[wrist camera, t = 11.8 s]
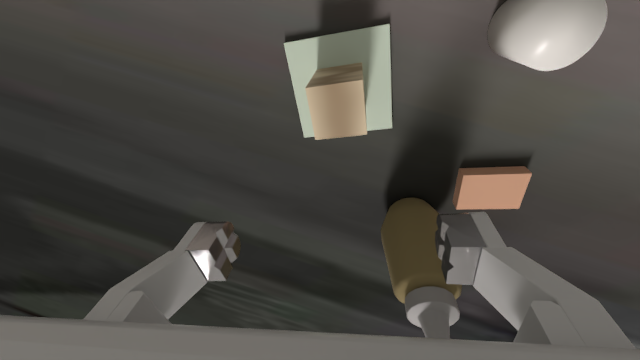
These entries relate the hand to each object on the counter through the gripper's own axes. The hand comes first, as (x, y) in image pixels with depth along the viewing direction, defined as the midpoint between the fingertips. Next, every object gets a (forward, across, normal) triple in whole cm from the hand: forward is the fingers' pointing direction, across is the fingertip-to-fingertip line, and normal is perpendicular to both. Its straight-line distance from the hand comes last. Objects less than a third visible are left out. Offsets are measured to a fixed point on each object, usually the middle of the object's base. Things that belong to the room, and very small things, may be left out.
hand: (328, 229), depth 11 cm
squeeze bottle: (+21, -6, +18) cm, 29 cm away
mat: (+21, +1, 0) cm, 21 cm away
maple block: (+20, +1, 0) cm, 21 cm away
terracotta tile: (+22, -15, +14) cm, 30 cm away
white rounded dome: (+21, -15, -3) cm, 26 cm away
